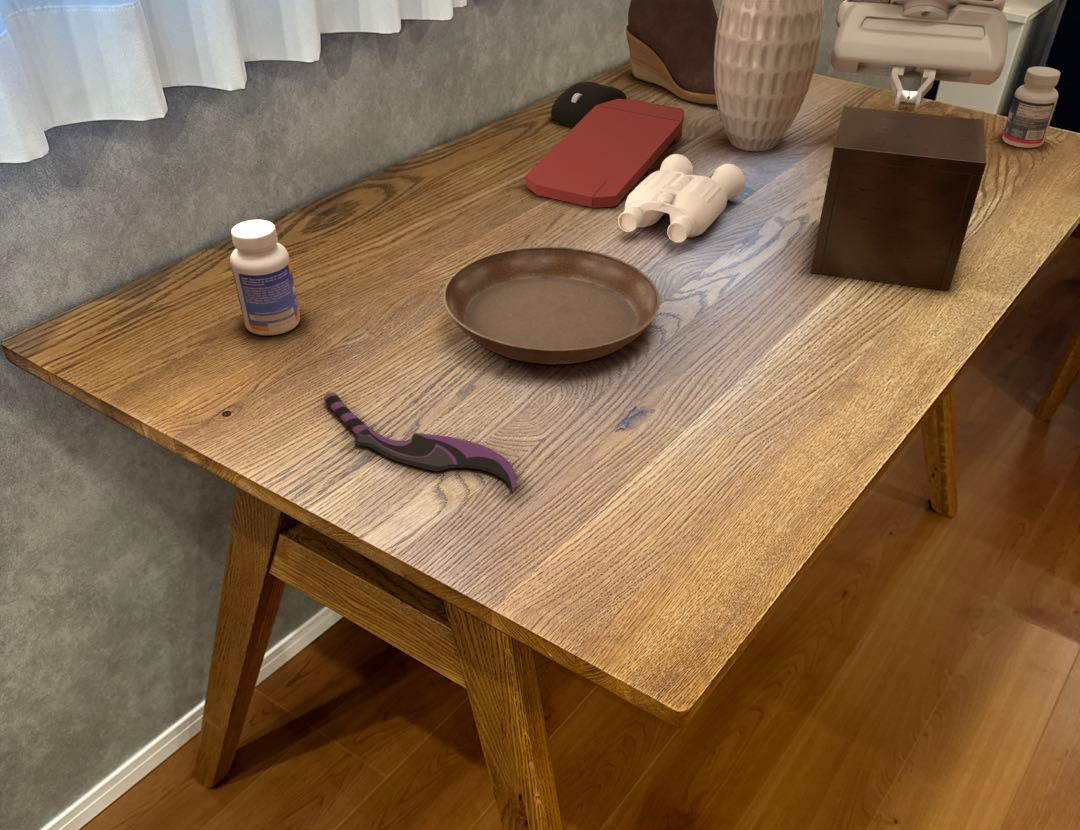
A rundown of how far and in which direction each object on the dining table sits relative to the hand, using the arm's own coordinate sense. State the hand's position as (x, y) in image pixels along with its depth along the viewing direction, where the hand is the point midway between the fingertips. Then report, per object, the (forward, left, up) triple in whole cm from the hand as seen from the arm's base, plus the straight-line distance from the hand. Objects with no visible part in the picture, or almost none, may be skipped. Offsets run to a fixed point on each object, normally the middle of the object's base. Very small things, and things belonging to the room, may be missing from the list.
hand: (906, 108), depth 124 cm
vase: (+18, -2, -7) cm, 19 cm away
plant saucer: (+30, +51, -7) cm, 59 cm away
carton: (+34, +11, -7) cm, 36 cm away
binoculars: (+23, +24, -7) cm, 34 cm away
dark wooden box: (0, +27, -7) cm, 28 cm away
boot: (+30, -20, -7) cm, 37 cm away
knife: (+35, +74, -7) cm, 82 cm away
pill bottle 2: (-16, -13, -7) cm, 22 cm away
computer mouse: (+41, -6, -7) cm, 42 cm away
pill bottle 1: (+56, +59, -7) cm, 82 cm away
